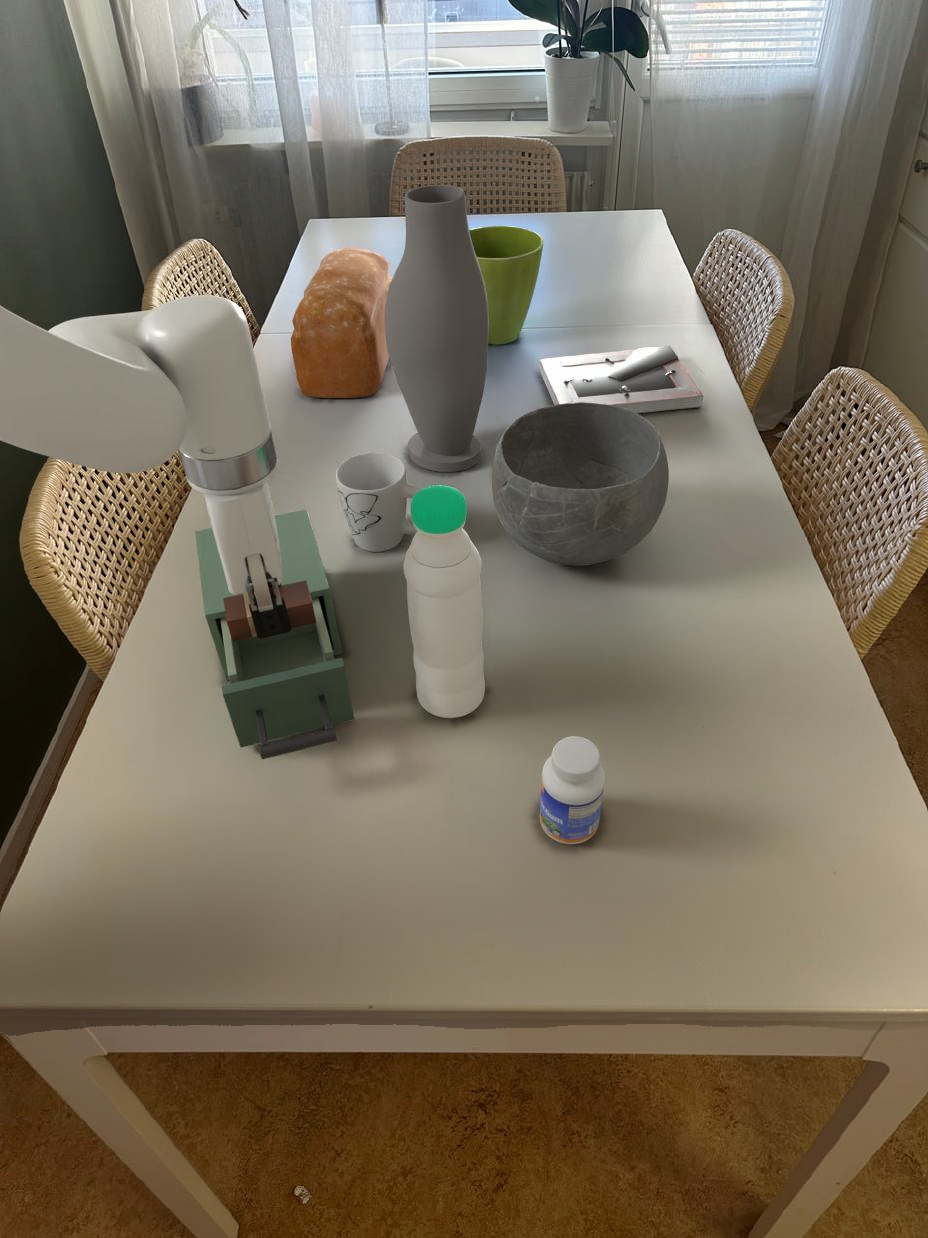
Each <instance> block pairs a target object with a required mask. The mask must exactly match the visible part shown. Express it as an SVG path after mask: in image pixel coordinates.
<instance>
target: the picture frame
mask: <svg viewBox="0 0 928 1238" xmlns="http://www.w3.org/2000/svg"><path fill="white" fill-rule="evenodd" d="M538 361H539V367H538V368H539V369H538V370H539V372H540V375H541V377H542V379H543V381H544V384H545V386H546V389H547V391H548V393H549V397H550V398H551V401H552V403H553V405H557V404H563V403H576V402H584V403H599V404H609V405H614V406H619V407H622V408H625V409H628V410H631V411H633V412H635V413H637V414H639V415H640V414H648V413H658V412H666V411H674V410H686V409H694V408H695V409H697V408H701V407H703V403H704V396H705V395H704V393H703V392H702V391H701V389H700V388H699V386H698V385H697V383H696V382H695V381H694V379H693V378H692V376H691V375H690V374H689V372H688V371H687V369H686V367H685V366H684V365H683V363H682V362H681V360H680V359H679V355H677V353H676V352H675V350H674V349H673V347H672V346H671V345H664V346H662V345H661V346H654V347H653V346H652V347H641V348H640V347H639V348H638V349H632V350H630V349H629V350H621V351H608V352H599V353H589V354H579V355H569V356H567V355H566V356H557V357H555V356H554V357H545V358H539V360H538Z"/></svg>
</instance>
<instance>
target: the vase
mask: <svg viewBox="0 0 928 1238" xmlns="http://www.w3.org/2000/svg"><path fill="white" fill-rule="evenodd" d="M466 200H467V199H466V193H465V190H464V189H463V188H461V187H458V186H456V185H451V184H427V185H421V186H417V187H414V188H412V189H409V190H408V191H406V193H405V194H404V216H405V243H404V251H403V254H402V257H401V259H400V262H399V264H398V265H397V268H396V270H395V271H394V274H393V276H392V281H391V283H390V286H389V289H388V292H387V297H386V305H385V338H386V345H387V351H388V355H389V362H390V366H391V368H392V371H393V375H394V377H395V378H396V382H397V384H398V387H399V390H400V391H401V394H402V396H403V399H404V401H405V404H406V407H407V409H408V411H409V415H410V417H411V419H412V422H413V424H414V427H415V429H416V431H417V432H416V433H414V434H413V435H412V436H410V438H409V439H408V442H407V448H408V450H407V451H408V456H409V458H410V460H411V462H413V463H414V464H416V465H417V466H418V467H421V468H424V469H426V470H429V471H434V472H440V473H455V472H460V471H461V472H462V471H465V470H469V469H470V468H473V467H474V466H476V465H477V464H478V463H479V462H480V461H481V457H482V449H481V443H480V440H479V439H478V438H477V437H476V436H475V435H474V433H475V429H476V426H477V425H476V424H477V422H478V418H479V417H478V416H479V413H480V410H481V405H482V401H483V398H484V392H485V386H486V377H487V370H488V369H487V367H488V366H487V365H488V354H489V353H488V352H489V344H488V325H489V321H488V301H487V293H486V288H485V283H484V279H483V275H482V272H481V269H480V266H479V263H478V260H477V257H476V254H475V251H474V248H473V244H472V241H471V236H470V232H469V230H470V228H469V222H468V213H467V201H466Z"/></svg>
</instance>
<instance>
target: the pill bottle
mask: <svg viewBox="0 0 928 1238" xmlns="http://www.w3.org/2000/svg"><path fill="white" fill-rule="evenodd" d="M600 760H601V754H600V750H599V748H598V746H597V745H596V744H595V743H594V742H593V741H592V740H590V739H588V738H585V737H583V736H578V735H571V736H567V737H566V736H565V737H564V738H562V739H560V740H559V741H557V742H556V743H555V745H554V746H553V749H552V752H551V755H550V756H549V757H548V758H547V760H546V761H545V762H544V765H543V767H542V772H541V785H540V799H539V800H540V802H539V822H540V825H541V828H542V829H543V832H544V833H545V834H546V835H547V836H548V837H549V838H550V839H552V840H553V841H555V842H558V843H560V844H565V845H577V844H582V843H585V842H586V841H588V840H590V839H591V838H592V837H593V836H594V835H595V834H596V832H597V830H598V828H599V824H600V818H601V810H602V804H603V797H604V792H605V791H604V790H605V784H606V772H605V769H604V766H603V764H602V763H601V761H600Z"/></svg>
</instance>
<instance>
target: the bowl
mask: <svg viewBox="0 0 928 1238" xmlns="http://www.w3.org/2000/svg"><path fill="white" fill-rule="evenodd" d="M490 479H491V480H490V481H491V491H492V492H491V493H492V494H491V495H492V500H493V504H494V505H493V506H494V508H495V511H496V513H497V516H498V518H499V519H498V520H499V521H500V523H501V525H502V526H503V528H504V529H505V531H506V532H507V534H508V535H509V536H510V537H511V538H512V539H513V541H514V542H516V544H518V545H519V546H521V547H522V548H523V549H524V550H526V551H527V552H529V554H532V555H534V556H536V557H538V558H540V559H541V560H542V559H543V560H545V561H547V562H551V563H553V564H556V565H557V564H558V565H561V566H562V565H563V566H576V567H577V566H578V567H581V566H589V565H595V564H596V565H597V564H601V563H604V562H607V561H610V560H613V559H615V558H618V557H619V556H622V555H623V554H625V553H628V552H629V551H630V550H632V549H634V548H635V547H636V546H638V544H640V543H641V542H642V541H643V540H644V539H645V538H646V537H647V536H648V535H649V534H650V532H652V530H653V528H654V527H655V525H656V524H657V522H658V521H659V519H660V516H661V514H662V513H663V509H664V508H665V504H666V500H667V496H668V491H669V481H670V471H669V462H668V456H667V452H666V449H665V444H664V442H663V439H662V437H661V435H660V433H659V431H658V430H657V428H656V427H655V426H654V425H653V424H652V423H651V422H650V421H649V420H647V419H646V418H645V417H644V416H642V415H641V414H640V413H639V414H637V413H635V412H633V411H631V410H628V409H625V408H622V407H619V406H614V405H609V404H599V403H584V402H576V403H563V404H557V405H554V404H552V405H547V406H544V407H540V408H537V409H533V410H532V411H529V412H527V413H525V414H523V415H521V416H520V417H518V418H517V419H516V420H514V421H513V422H512V423H511V424H509V426H508V427H507V428H506V429H505V431H504V432H503V433H502V436H501V437H500V440H499V442H498V443H497V447H496V450H495V453H494V456H493V461H492V468H491V478H490Z"/></svg>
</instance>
